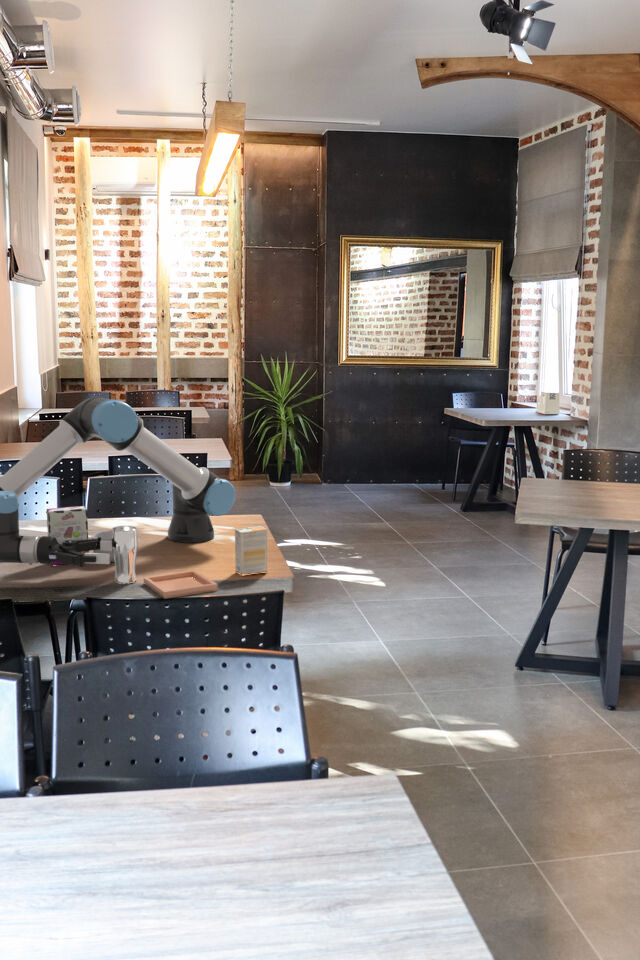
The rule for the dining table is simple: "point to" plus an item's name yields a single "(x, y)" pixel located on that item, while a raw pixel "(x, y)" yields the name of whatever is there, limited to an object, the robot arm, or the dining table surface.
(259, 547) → the supplement box
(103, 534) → the teacup
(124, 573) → the steel tumbler
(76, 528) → the candy bar box
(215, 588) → the tray
